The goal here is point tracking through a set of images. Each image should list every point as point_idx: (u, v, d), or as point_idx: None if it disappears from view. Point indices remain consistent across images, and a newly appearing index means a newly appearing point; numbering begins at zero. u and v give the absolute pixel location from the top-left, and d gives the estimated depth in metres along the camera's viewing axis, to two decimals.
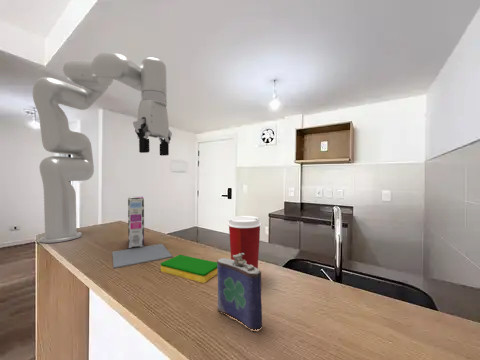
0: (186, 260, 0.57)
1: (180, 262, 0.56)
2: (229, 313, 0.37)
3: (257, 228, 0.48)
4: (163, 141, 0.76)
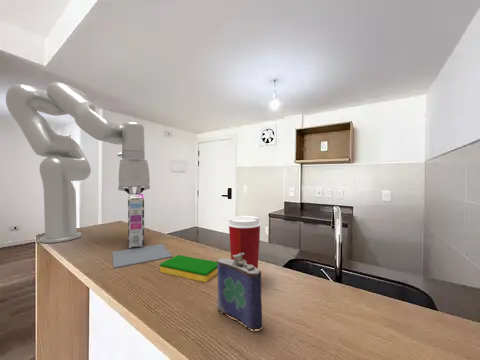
0: (186, 260, 0.57)
1: (180, 262, 0.55)
2: (229, 313, 0.37)
3: (257, 228, 0.48)
4: None
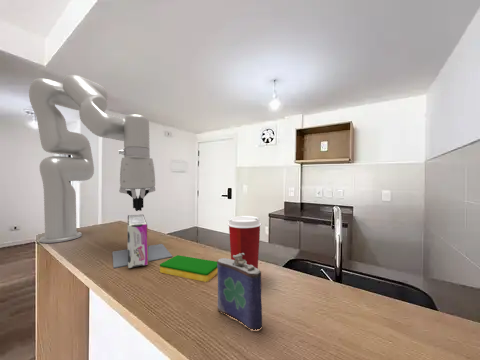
0: (185, 260, 0.57)
1: (180, 262, 0.55)
2: (229, 313, 0.37)
3: (257, 228, 0.48)
4: None
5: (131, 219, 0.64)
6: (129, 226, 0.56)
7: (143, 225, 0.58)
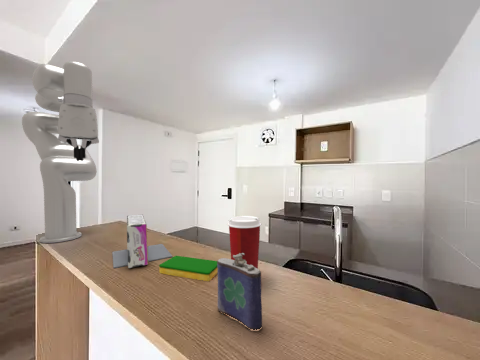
0: (185, 260, 0.57)
1: (179, 263, 0.55)
2: (229, 313, 0.37)
3: (257, 228, 0.48)
4: None
5: (130, 219, 0.64)
6: (128, 226, 0.56)
7: (142, 225, 0.58)
